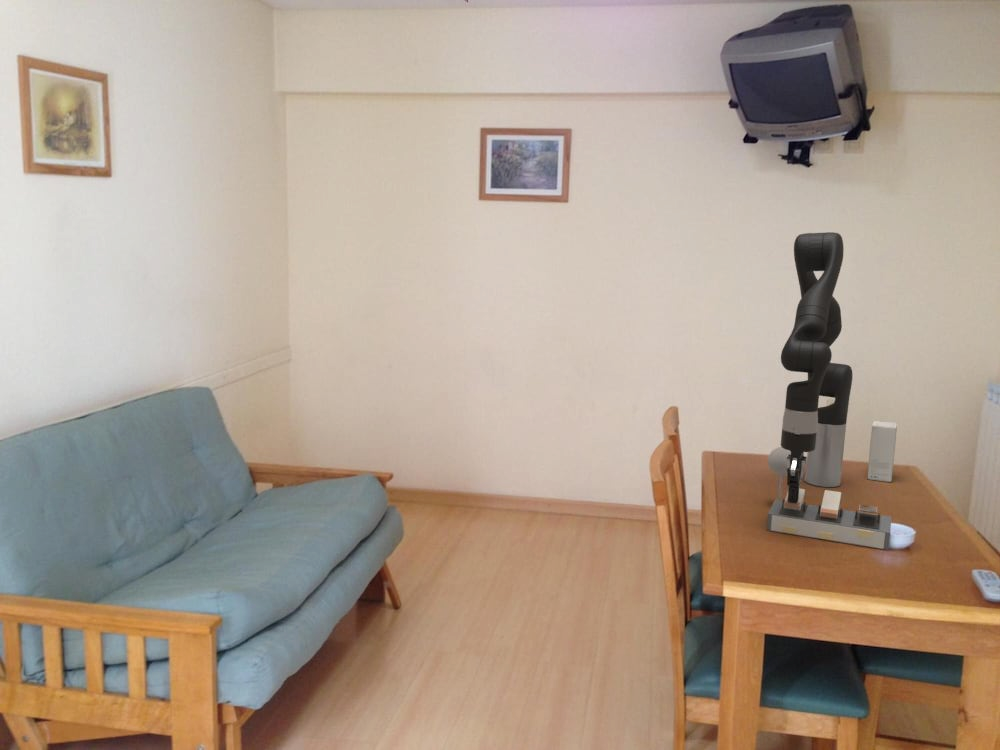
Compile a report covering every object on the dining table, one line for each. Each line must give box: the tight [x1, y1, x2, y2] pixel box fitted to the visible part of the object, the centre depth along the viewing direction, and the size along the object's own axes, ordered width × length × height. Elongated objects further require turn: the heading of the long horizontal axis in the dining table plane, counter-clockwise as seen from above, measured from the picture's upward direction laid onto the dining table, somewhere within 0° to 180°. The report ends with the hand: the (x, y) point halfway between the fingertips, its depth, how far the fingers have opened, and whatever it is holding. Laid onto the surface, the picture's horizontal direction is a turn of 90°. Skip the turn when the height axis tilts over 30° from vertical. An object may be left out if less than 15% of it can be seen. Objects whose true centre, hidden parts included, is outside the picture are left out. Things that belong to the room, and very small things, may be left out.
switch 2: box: [820, 489, 842, 519], centre depth 208 cm, size 9×4×1 cm, turn 155°
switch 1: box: [784, 487, 806, 510], centre depth 211 cm, size 9×4×1 cm, turn 155°
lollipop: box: [767, 446, 791, 501], centre depth 226 cm, size 7×7×15 cm
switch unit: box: [766, 498, 892, 551], centre depth 208 cm, size 12×26×6 cm, turn 66°
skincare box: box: [867, 420, 898, 483], centre depth 254 cm, size 8×7×16 cm
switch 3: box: [858, 504, 878, 515], centre depth 205 cm, size 9×4×1 cm, turn 156°
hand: (792, 501), depth 208 cm, fingers closed
